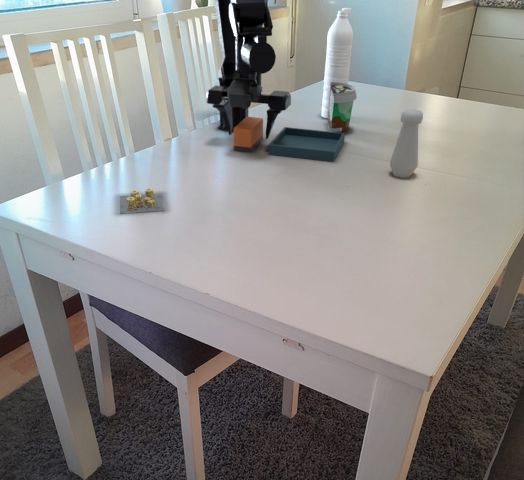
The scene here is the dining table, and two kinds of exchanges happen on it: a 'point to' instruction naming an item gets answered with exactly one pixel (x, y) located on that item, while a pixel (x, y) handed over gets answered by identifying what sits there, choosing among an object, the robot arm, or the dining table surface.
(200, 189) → the dining table surface
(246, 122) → the eraser
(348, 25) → the water bottle
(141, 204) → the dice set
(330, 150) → the dark teal tray
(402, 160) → the salt shaker
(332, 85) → the food container
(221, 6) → the robot arm
